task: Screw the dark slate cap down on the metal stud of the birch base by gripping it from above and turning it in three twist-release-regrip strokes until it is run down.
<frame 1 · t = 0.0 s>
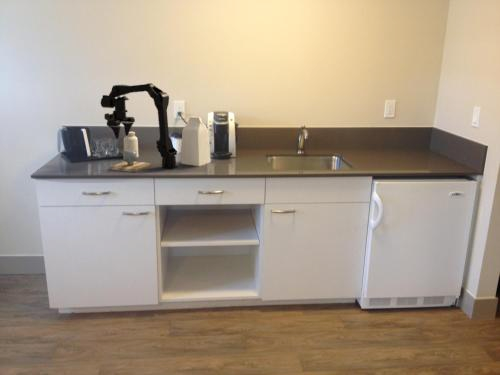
hand: (122, 137, 250), 15 cm above the worktop, tool pointing down, fingers open, 9 cm apart
milk: (196, 163, 257), on the worktop
cap: (129, 155, 242), point 7 cm above the worktop, hinge at 0.0°
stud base: (130, 167, 244), on the worktop
pill bottle: (131, 157, 268), on the worktop
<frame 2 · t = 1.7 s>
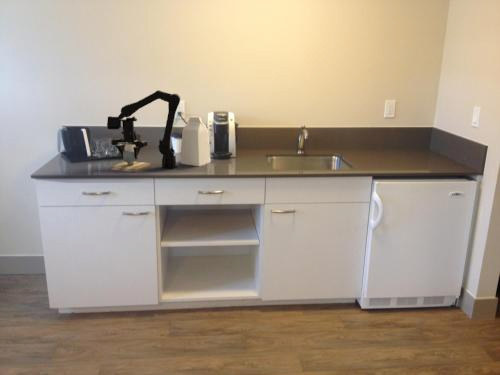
hand: (130, 158, 243), 5 cm above the worktop, tool pointing down, fingers closed on cap, 7 cm apart
cap: (129, 155, 242), point 7 cm above the worktop, hinge at 0.1°, touching gripper
everything else where it was.
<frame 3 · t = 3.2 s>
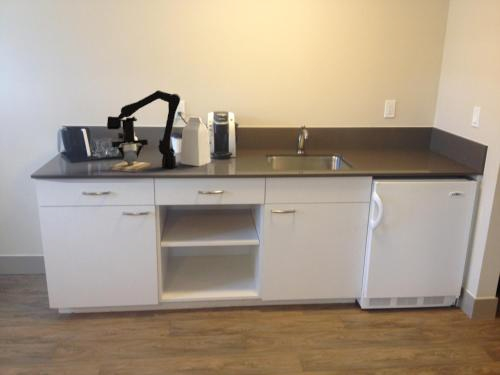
hand: (130, 158, 243), 5 cm above the worktop, tool pointing down, fingers closed on cap, 7 cm apart
cap: (129, 155, 242), point 7 cm above the worktop, hinge at 44.6°, touching gripper
everything else where it was.
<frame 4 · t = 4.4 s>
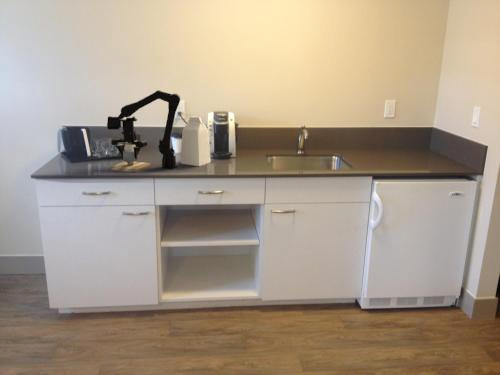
hand: (130, 158, 243), 5 cm above the worktop, tool pointing down, fingers closed on cap, 7 cm apart
cap: (129, 155, 242), point 7 cm above the worktop, hinge at 44.5°, touching gripper
everything else where it was.
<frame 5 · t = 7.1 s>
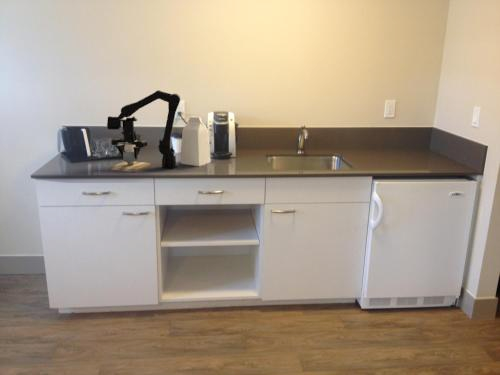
hand: (130, 158, 243), 5 cm above the worktop, tool pointing down, fingers closed on cap, 7 cm apart
cap: (129, 155, 242), point 7 cm above the worktop, hinge at 88.8°, touching gripper
everything else where it was.
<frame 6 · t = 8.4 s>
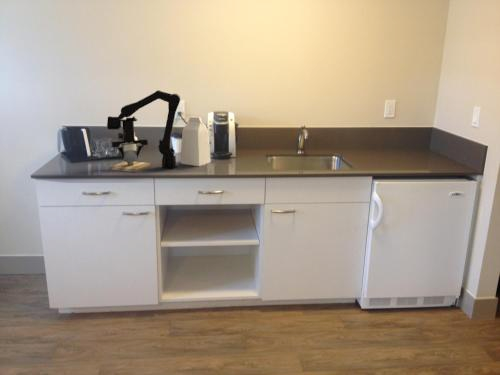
hand: (130, 158, 243), 5 cm above the worktop, tool pointing down, fingers closed on cap, 7 cm apart
cap: (129, 155, 242), point 7 cm above the worktop, hinge at 133.1°, touching gripper
everything else where it was.
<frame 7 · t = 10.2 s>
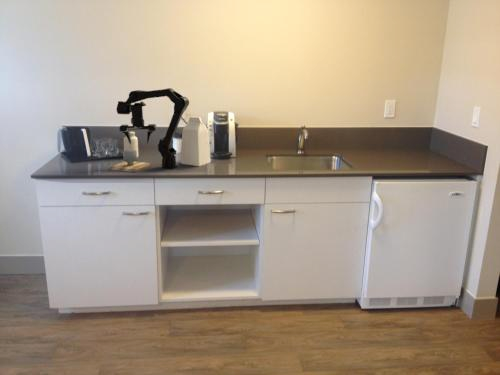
hand: (139, 143, 245), 12 cm above the worktop, tool pointing down, fingers open, 9 cm apart
cap: (129, 155, 242), point 7 cm above the worktop, hinge at 133.1°
everything else where it was.
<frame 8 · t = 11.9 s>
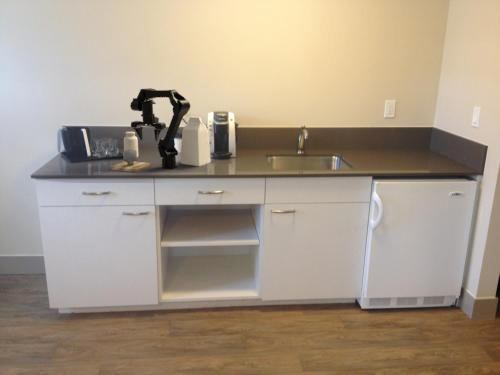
hand: (149, 140, 250), 13 cm above the worktop, tool pointing down, fingers open, 9 cm apart
nothing on the worktop moved.
at the end: cap at +133° (first picture: +0°); pill bottle moved 0.2 cm from its start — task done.
